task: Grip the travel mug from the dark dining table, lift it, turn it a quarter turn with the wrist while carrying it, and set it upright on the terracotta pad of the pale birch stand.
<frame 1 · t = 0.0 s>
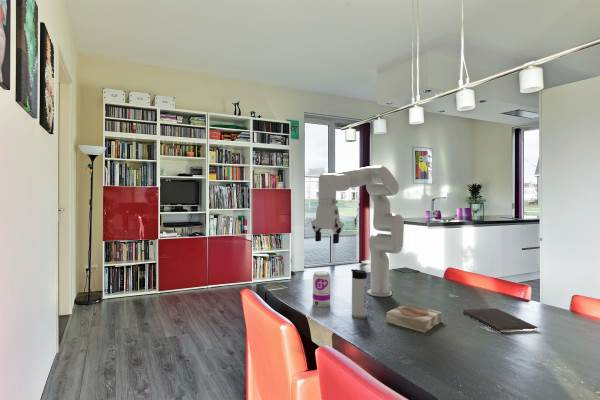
hand: (326, 242, 155), 31 cm above the table, tool pointing down, fingers open, 9 cm apart
hardcover book: (497, 323, 147), on the table
supplement can: (321, 305, 168), on the table
birch stand: (413, 322, 146), on the table
travel mug: (358, 317, 152), on the table
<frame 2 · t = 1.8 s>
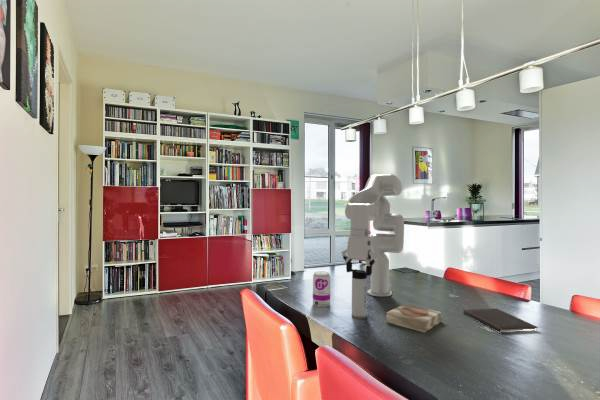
hand: (358, 273, 151), 18 cm above the table, tool pointing down, fingers open, 9 cm apart
nothing on the table moved.
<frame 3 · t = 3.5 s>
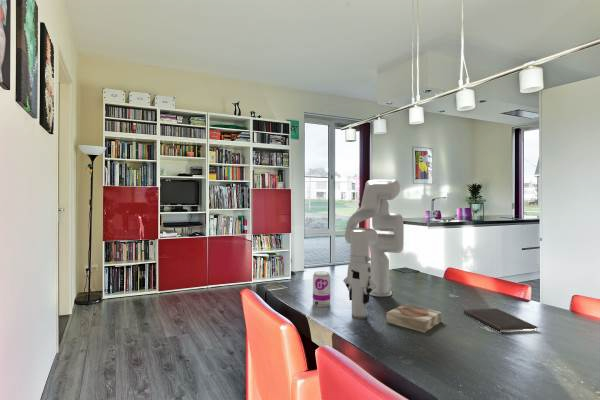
hand: (358, 300, 152), 7 cm above the table, tool pointing down, fingers closed on travel mug, 6 cm apart
travel mug: (358, 317, 152), on the table, touching gripper
everything else where it was.
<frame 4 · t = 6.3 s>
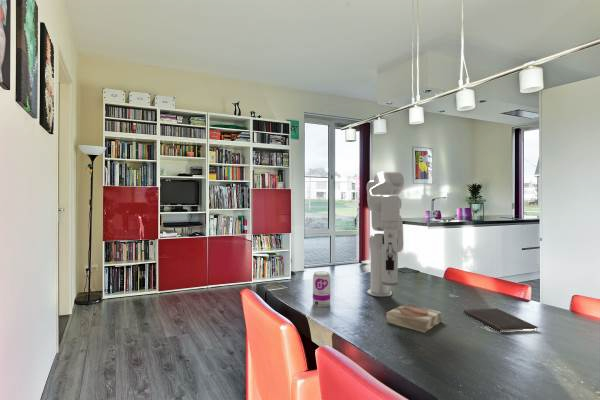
hand: (389, 267, 148), 21 cm above the table, tool pointing down, fingers closed on travel mug, 6 cm apart
travel mug: (389, 284, 149), point 15 cm above the table, touching gripper
everything else where it was.
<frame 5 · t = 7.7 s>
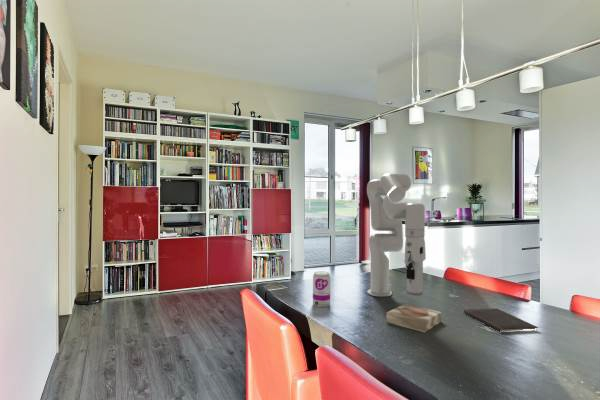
hand: (414, 277, 146), 18 cm above the table, tool pointing down, fingers closed on travel mug, 6 cm apart
travel mug: (414, 294, 146), point 11 cm above the table, touching gripper
everything else where it was.
when the fingers open (12 cm above the table, at t = 9.1 s): travel mug drops 1 cm, resting on birch stand.
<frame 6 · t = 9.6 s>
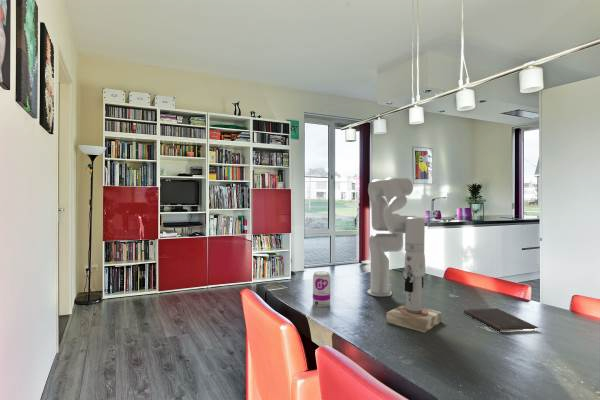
hand: (414, 289, 146), 13 cm above the table, tool pointing down, fingers open, 9 cm apart
travel mug: (413, 311, 146), point 4 cm above the table, touching birch stand
everything else where it was.
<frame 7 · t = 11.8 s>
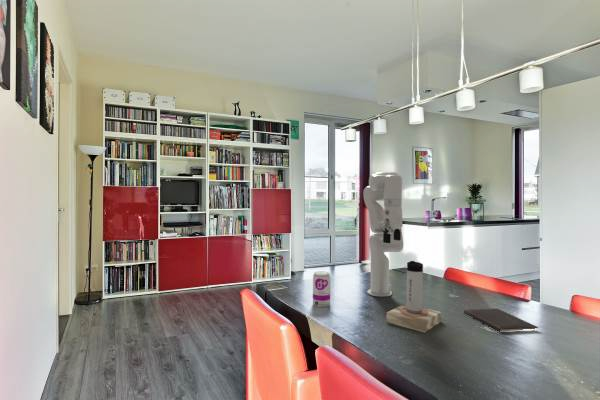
hand: (392, 241, 159), 31 cm above the table, tool pointing down, fingers open, 9 cm apart
nothing on the table moved.
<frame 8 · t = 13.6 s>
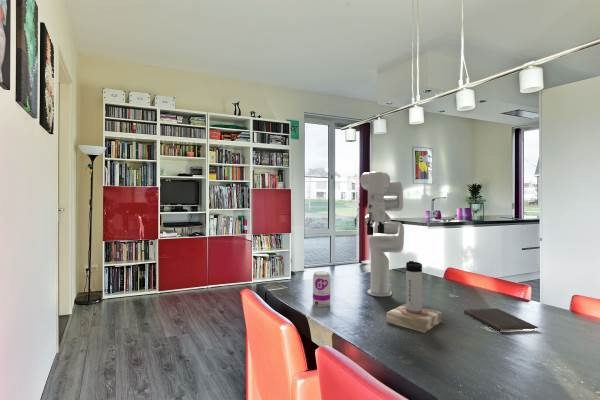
hand: (375, 234, 169), 33 cm above the table, tool pointing down, fingers open, 9 cm apart
nothing on the table moved.
at the end: travel mug inside the target area on the birch stand (0.1 cm from its centre), point 4.1 cm above the birch stand's base; travel mug tilted 1°; the gripper is holding nothing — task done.
